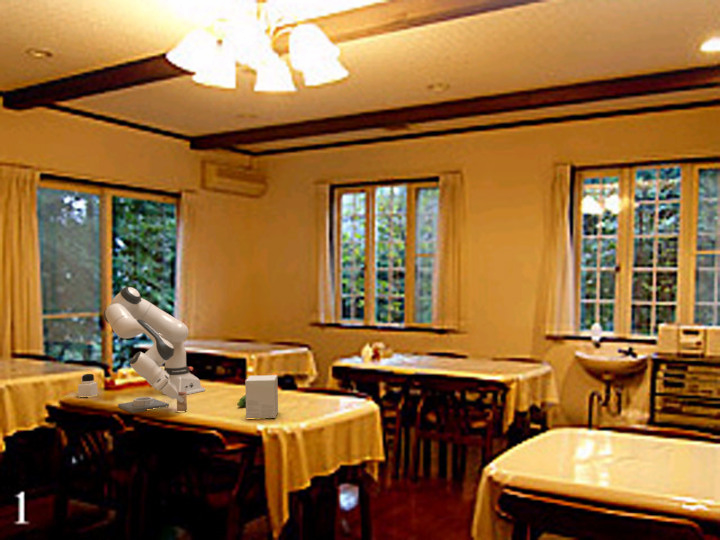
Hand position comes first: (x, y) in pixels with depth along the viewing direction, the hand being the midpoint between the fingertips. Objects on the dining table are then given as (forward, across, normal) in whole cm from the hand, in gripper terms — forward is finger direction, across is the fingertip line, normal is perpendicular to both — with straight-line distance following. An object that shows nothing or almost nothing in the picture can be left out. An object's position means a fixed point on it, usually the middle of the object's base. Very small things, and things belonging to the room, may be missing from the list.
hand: (182, 399), depth 300 cm
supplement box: (+27, +25, +20) cm, 42 cm away
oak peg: (+4, 0, -4) cm, 6 cm away
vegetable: (+28, -2, +19) cm, 34 cm away
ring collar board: (-8, -18, -16) cm, 25 cm away
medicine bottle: (-26, -56, -36) cm, 72 cm away
